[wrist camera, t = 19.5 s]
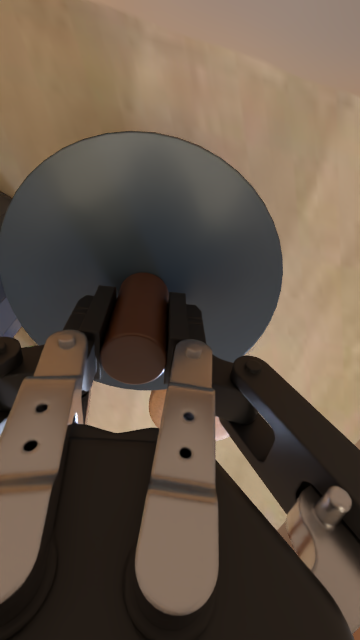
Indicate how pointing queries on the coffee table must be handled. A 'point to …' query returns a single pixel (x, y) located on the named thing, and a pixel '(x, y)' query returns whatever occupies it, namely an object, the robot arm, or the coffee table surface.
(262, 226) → the lid
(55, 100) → the coffee table surface
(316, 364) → the coffee table surface
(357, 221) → the coffee table surface
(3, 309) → the canister
